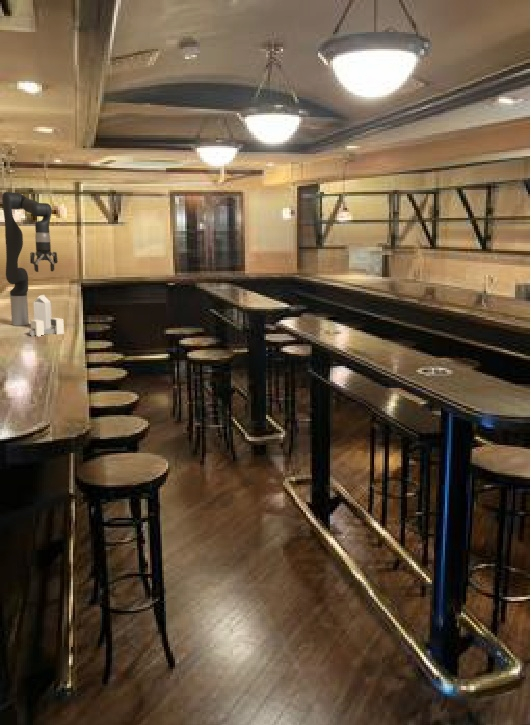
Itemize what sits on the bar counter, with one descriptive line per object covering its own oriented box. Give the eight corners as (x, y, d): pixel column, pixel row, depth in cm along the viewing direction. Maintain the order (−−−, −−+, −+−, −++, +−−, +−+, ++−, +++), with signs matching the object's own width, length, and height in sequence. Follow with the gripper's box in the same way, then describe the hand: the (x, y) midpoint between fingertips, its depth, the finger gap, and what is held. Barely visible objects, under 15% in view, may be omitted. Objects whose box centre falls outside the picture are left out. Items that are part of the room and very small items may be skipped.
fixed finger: (50, 332, 341) (49, 318, 339) (58, 332, 344) (57, 317, 342) (56, 334, 336) (55, 319, 334) (64, 333, 339) (63, 319, 337)
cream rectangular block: (31, 334, 333) (30, 320, 332) (39, 334, 336) (38, 319, 335) (37, 336, 328) (36, 321, 327) (45, 335, 331) (44, 320, 330)
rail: (29, 335, 330) (29, 330, 330) (60, 332, 342) (59, 327, 341) (31, 336, 329) (31, 330, 328) (62, 333, 340) (61, 327, 340)
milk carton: (52, 327, 358) (50, 294, 354) (46, 329, 351) (44, 296, 347) (40, 327, 358) (38, 294, 354) (34, 329, 351) (32, 295, 347)
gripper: (52, 241, 341) (53, 270, 345) (27, 241, 331) (28, 271, 335) (58, 241, 336) (60, 271, 339) (33, 241, 326) (34, 272, 330)
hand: (44, 271), depth 337 cm, fingers open, 8 cm apart
